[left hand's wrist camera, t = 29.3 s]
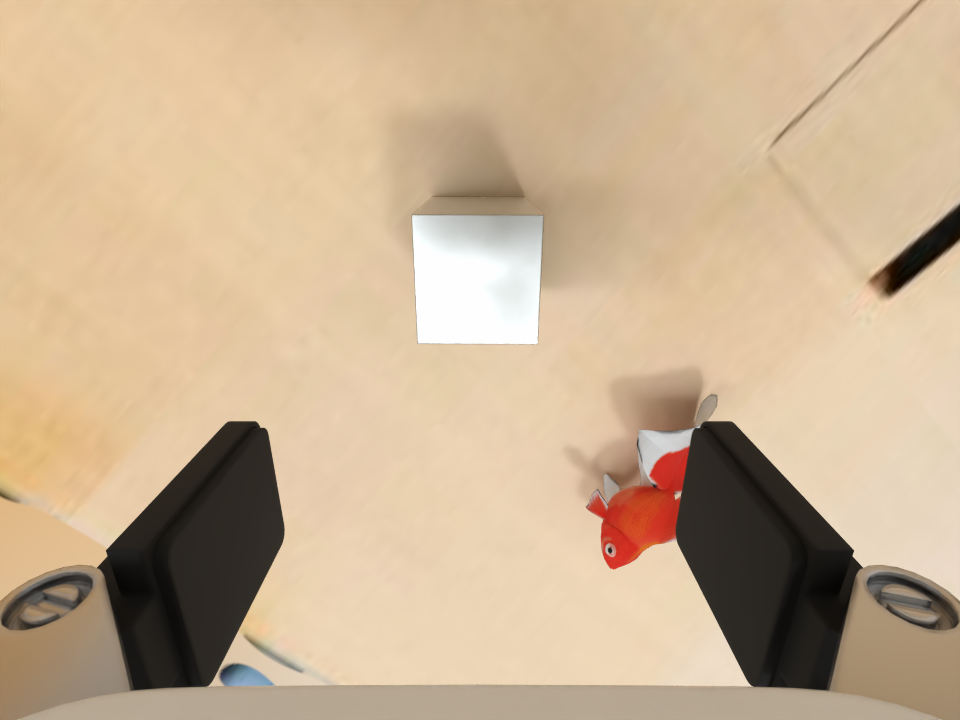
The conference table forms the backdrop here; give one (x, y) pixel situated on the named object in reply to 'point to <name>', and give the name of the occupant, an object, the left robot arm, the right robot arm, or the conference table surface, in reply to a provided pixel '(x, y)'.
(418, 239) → the block
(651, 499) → the fish
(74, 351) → the conference table surface
